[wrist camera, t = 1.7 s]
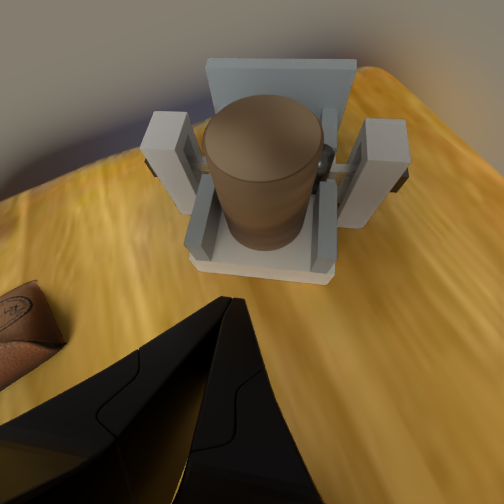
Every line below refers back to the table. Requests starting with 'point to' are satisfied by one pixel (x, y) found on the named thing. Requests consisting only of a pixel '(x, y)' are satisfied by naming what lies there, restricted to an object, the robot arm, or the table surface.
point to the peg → (264, 167)
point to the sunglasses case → (26, 332)
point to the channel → (321, 204)
